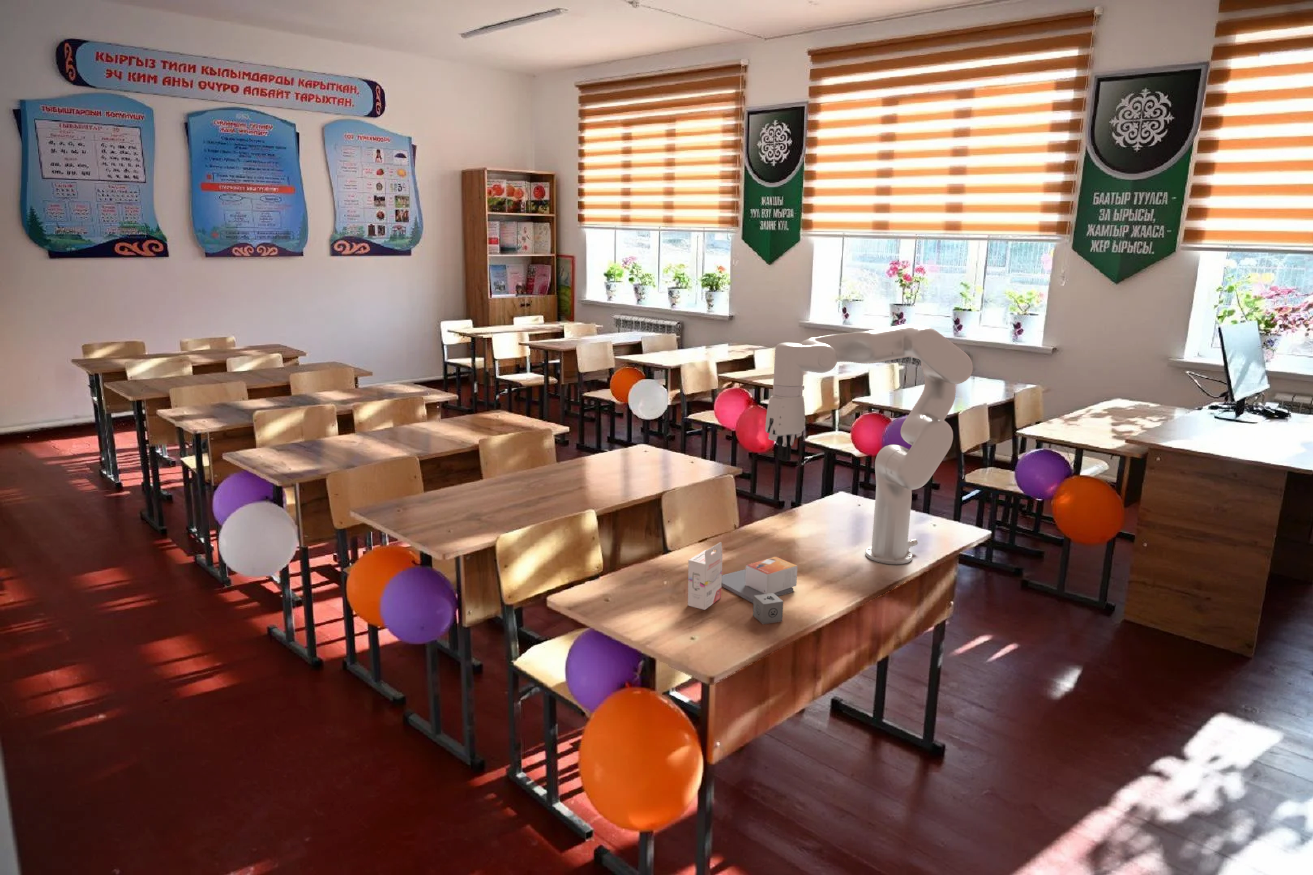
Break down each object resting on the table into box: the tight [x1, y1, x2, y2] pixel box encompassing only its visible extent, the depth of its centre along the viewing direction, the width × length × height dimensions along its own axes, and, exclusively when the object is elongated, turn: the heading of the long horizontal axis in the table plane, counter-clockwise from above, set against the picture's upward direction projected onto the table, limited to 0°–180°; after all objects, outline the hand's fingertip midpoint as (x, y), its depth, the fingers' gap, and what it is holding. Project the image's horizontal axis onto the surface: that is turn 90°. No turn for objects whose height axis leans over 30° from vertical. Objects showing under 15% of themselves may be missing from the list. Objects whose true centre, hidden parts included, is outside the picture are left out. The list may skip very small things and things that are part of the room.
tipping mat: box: [721, 568, 794, 604], centre depth 218 cm, size 13×16×1 cm
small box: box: [745, 556, 798, 594], centre depth 215 cm, size 8×6×10 cm
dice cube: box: [752, 593, 784, 625], centre depth 200 cm, size 5×5×5 cm
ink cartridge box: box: [687, 541, 723, 611], centre depth 207 cm, size 9×5×15 cm, turn 148°
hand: (784, 459), depth 226 cm, fingers closed
